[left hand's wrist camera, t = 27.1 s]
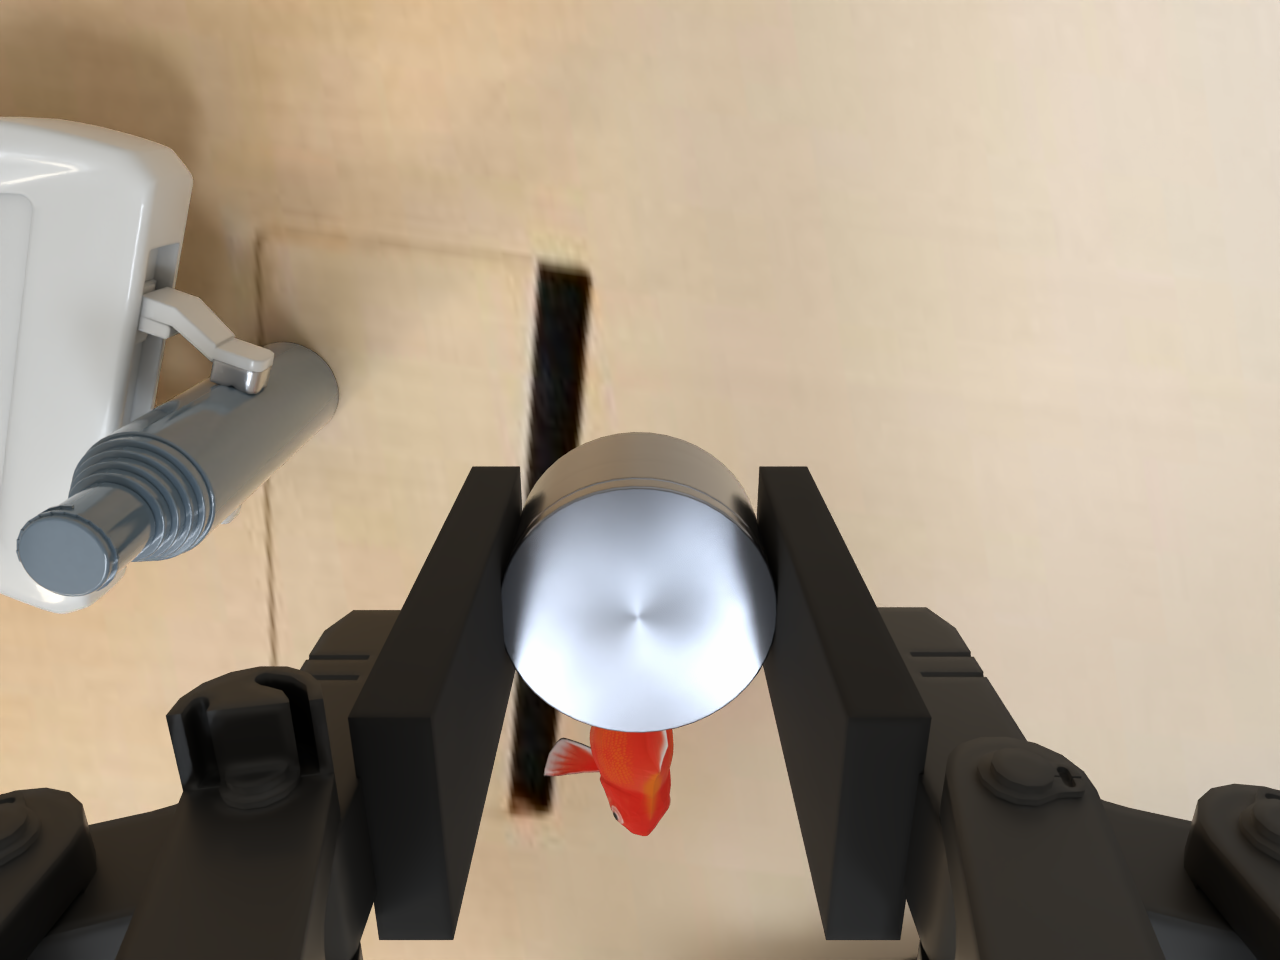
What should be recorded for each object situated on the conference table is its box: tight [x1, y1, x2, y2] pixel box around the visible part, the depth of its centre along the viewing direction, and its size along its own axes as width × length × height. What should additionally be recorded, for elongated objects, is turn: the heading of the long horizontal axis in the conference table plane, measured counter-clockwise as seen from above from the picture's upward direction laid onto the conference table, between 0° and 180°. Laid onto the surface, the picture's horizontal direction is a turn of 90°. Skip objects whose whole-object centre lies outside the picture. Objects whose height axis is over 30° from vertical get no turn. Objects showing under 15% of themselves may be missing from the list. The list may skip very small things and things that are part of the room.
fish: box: [544, 726, 673, 836], centre depth 45 cm, size 11×16×10 cm
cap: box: [501, 432, 778, 733], centre depth 13 cm, size 4×4×2 cm
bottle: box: [16, 342, 338, 597], centre depth 35 cm, size 5×5×18 cm
